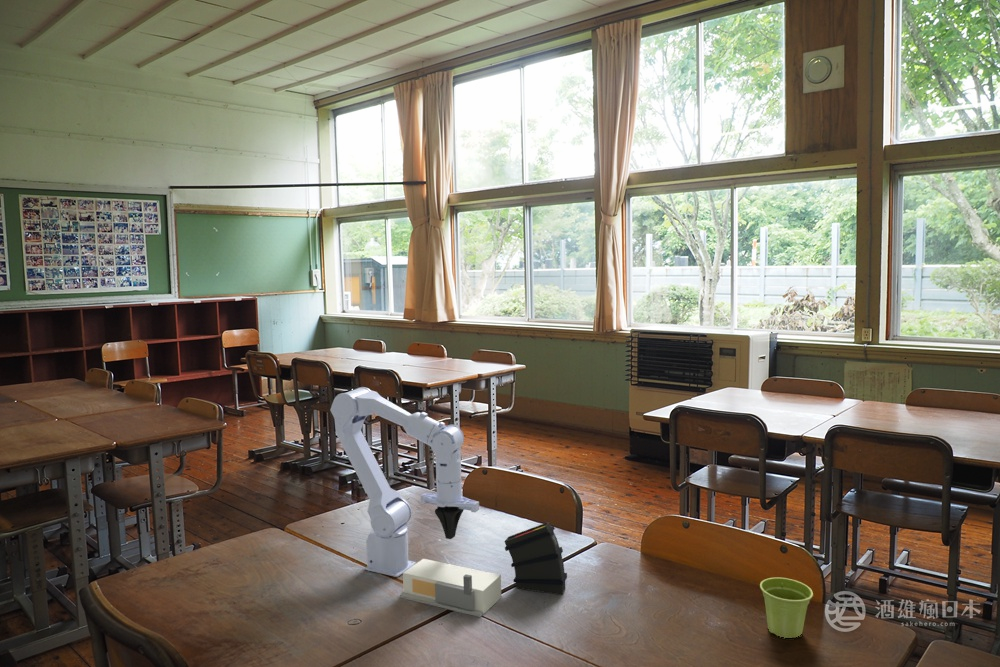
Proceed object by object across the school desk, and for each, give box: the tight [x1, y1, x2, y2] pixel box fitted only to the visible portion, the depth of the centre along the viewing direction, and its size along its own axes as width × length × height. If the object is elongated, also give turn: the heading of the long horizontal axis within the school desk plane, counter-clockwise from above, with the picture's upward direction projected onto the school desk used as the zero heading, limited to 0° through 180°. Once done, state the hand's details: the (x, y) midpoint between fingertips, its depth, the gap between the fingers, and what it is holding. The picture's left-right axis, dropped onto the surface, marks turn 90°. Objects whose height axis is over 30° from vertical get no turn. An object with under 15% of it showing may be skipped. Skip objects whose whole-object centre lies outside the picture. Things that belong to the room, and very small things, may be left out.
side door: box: [435, 574, 474, 611], centre depth 143 cm, size 9×1×7 cm, turn 63°
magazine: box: [504, 521, 568, 596], centre depth 151 cm, size 4×13×15 cm, turn 70°
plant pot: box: [759, 577, 814, 639], centre depth 132 cm, size 9×9×9 cm
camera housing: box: [399, 558, 502, 618], centre depth 148 cm, size 20×9×5 cm, turn 63°
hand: (450, 537), depth 158 cm, fingers closed
